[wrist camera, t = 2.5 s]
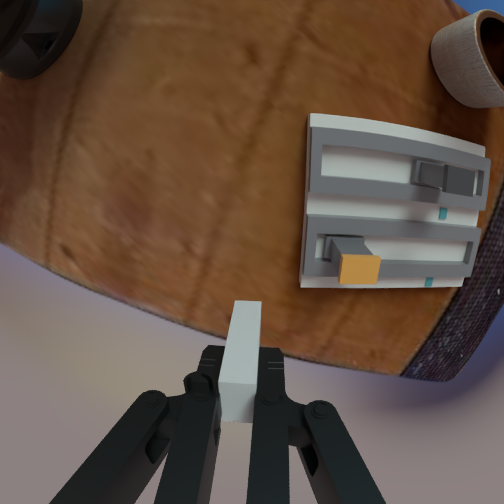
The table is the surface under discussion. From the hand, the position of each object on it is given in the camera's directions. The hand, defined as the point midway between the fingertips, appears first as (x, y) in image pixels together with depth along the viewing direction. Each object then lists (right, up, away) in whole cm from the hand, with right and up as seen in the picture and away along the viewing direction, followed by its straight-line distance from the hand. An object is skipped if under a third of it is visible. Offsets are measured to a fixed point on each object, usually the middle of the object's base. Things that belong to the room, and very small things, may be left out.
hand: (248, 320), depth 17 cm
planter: (+26, +27, +5) cm, 38 cm away
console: (+17, +9, +12) cm, 23 cm away
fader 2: (+19, +12, +9) cm, 24 cm away
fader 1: (+10, +5, +12) cm, 16 cm away
